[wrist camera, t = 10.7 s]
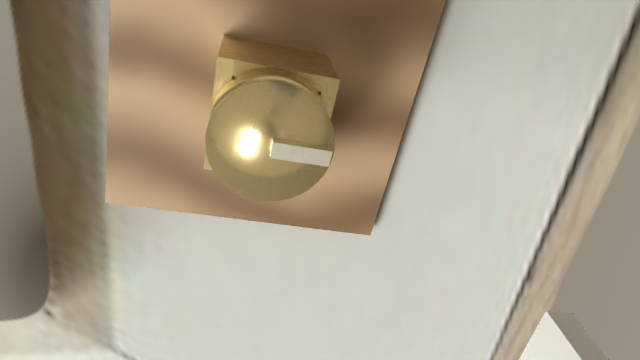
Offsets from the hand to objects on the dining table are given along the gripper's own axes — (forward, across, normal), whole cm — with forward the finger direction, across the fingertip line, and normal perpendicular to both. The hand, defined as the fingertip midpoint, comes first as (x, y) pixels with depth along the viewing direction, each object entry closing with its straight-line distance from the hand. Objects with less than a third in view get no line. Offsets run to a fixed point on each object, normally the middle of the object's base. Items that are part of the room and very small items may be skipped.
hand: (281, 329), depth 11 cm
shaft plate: (+21, 0, -1) cm, 21 cm away
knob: (+20, 0, -1) cm, 20 cm away
